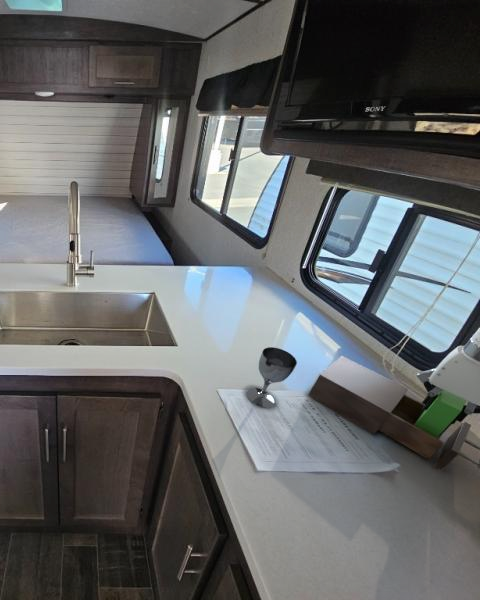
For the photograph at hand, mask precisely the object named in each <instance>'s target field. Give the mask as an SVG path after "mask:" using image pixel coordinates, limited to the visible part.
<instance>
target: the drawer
mask: <svg viewBox="0 0 480 600" xmlns="http://www.w3.org/2000/svg"><path fill="white" fill-rule="evenodd" d="M422 402H423V401H420V400H418V399H416V398H415V397H412V396H410V395H408V394H407V393H405V394H404V396H403V397H402V399H401V400H400V401H399V403H398V404H397V405H396V407H395V408H394V409H393V411H392V412H391V414H390V415H389V416H388V417H387V419H386V420H385V421H384V422H383V424H382V425H381V426H380V427H379V429H378V430H377V431H380V432H381V433H383V434H384V435H386V436H388V437H390V438H392V439H393V440H395V441H396V442H398V443H400V444H402V445H403V446H405V447H406V448H408V449H410V450H412V451H413V452H415V453H416V454H418V455H420V456H421V457H423V458H425V459H427V460H429V459H430V458H431V457H432V456H433V455H434V454H436V452H437V451H439V449H440V448H441V447H442V449H441V452H440V454H439V456H438V457H437V460H436V462H435V464H434V467H435V468H436V469H438V470H440V471H442V470H443V469H444V468H446V467H447V466H448V465H449V463H451V462H452V461H453V460H454V459H456V457H457V456H459V457H462V458H463V459H465V460H466V461H468V462H470V463H471V464H474V465H475V466H477V468H478V469H479V470H480V459H479V460H476V459H475V458H472V457H470V456H469V455H467V454H465V453H463V452H461V450H462V448H463V445H464V443H465V444H468V445H469V446H471V447H473V448H475V449H476V450H479V451H480V445H479V444H476V443H474V442H473V441H471V440H469V439H467V436H468V434H469V431H470V430H471V427H472V424H470V423H469V422H466V421H462V422H461V424H460V425H459V426H458V427H457V428H456V429H455V430H454V431H453V432H452V433H451V434H450V435H449V437H447V439H446V441H443V440H441V437H442V435H443V434H444V433H445V432H446V431H447V430H448V429H449V428H450V427H451V426H452V424H451V423H450V424H449V425H448V426H447V427H446V428H445V429H444V431H443V432H442V433H441V434H440V435H439V436H438V437H437V438H436V437H434V436H432V435H430V434H429V433H427V432H425V431H423V430H421V429H419V428H418V427H416V426H414V425H415V423H416V422H417V420H418V419H419V417H420V415H421V414H422V413H423V412H424V409H423V407H424V406H425V404H423V403H422Z"/></svg>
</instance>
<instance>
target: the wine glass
mask: <svg viewBox="0 0 480 600" xmlns="http://www.w3.org/2000/svg"><path fill="white" fill-rule="evenodd" d="M297 364H298V361H297V359H296V358H295V356H293V355H292V353H290V352H289V351H287V350H284V349H282V348H278V347H272V346H271V347H265V348H264V349H263V350H262V351H261V354H260V357H259V361H258V371H259V374H260V376H261V377H262V378H263V386H262V389H261V388H258V387H250V388H248V389H247V390H246V396H247V398H248V400H249V401H251V402H252V403H253V404H254V405H257V406H258V407H261V408H265V409H266V408H269V409H270V408H272V407H274V405H275V399H274V397H273V396H272V395H271V394H270V393H269V392H267V389H268V388H269V387H270V385H271V384H276V383H281V382H284V381H286V380H287V379H288V378H289V377H290V376H291V375H292V374H293V372H294V370H295V369H296V366H297Z"/></svg>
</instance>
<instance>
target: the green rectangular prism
mask: <svg viewBox="0 0 480 600" xmlns="http://www.w3.org/2000/svg"><path fill="white" fill-rule="evenodd" d="M466 402H468V401H467V400H465V399H462V398H460V397H458V396H456V395H454V394H451V393H449V392H447V391H445V390H443V391H442V392H440V393H439V394H438V396H437V398H436V400H435V401H434V402H433V403H432V404H431V406H430V407H429V408H428V409H427V410H424V412H423V413H422V414H421V415H420V417H419V419H418V420H417V422H416V423H415V425H414V426H416V427H418V428H419V429H421V430H423V431H425V432H427V433H429V434H430V435H432V436H434V437H436V438H437V437H438V436H439V435H440V434H441V433H442V432H443V431H444V429H445V428H446V427H447V426H448V425H449V424H450V423H451V422H452V421H453V420H454V419H455V418H456V416H457V415H458V414H459V413H460V412H461V411H462V409H463V407H464V405H466V404H467V403H466Z"/></svg>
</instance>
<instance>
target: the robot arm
mask: <svg viewBox="0 0 480 600" xmlns="http://www.w3.org/2000/svg"><path fill="white" fill-rule="evenodd" d="M416 377H417V379H418V380H420V382H421V383H422V384H423V386H424V388H425V390H426V392H427V395H426V397H424V399H423V400H422V401H421V402H422V403H423V404H425V406H424V407H423V409H424V410H427V409H428V408H429V407H430V406H431V404H432V403H433V402H434V401H435V400H436V398H437V396H438V394H439V393H440V392H442V391H443V390H445V391H447V392H449V393H451V394H454V395H456V396H458V397H460V398H462V399H465V400H467V401H466V402H467V403H466V404H465V405H464V407H463V409H462V411H461V412H460V413H459V414H458V415H457V416H456V418H455V419H454V420H453V421H452V422H451V425H454V424H455V423H456V422H458V423H463V422H464V420H465V419H466V418H467V417H468V416H469V415H470V416H471V415H473V414H480V327H478V329H477V330H476V331H475V333H473V334H472V337H470V338H469V340H468V341H467V342H466V344H465V345H458V346H457V347H455V348H454V349H453V350H452V351H451V352H449V353H448V354H447V355H446V356H445V357H444V358H443V359H442V360H441V361H440V363H439V364H437V366H436V367H435V368H431V369H427V370H423V371H420V372H418V373H417V374H416Z"/></svg>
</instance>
